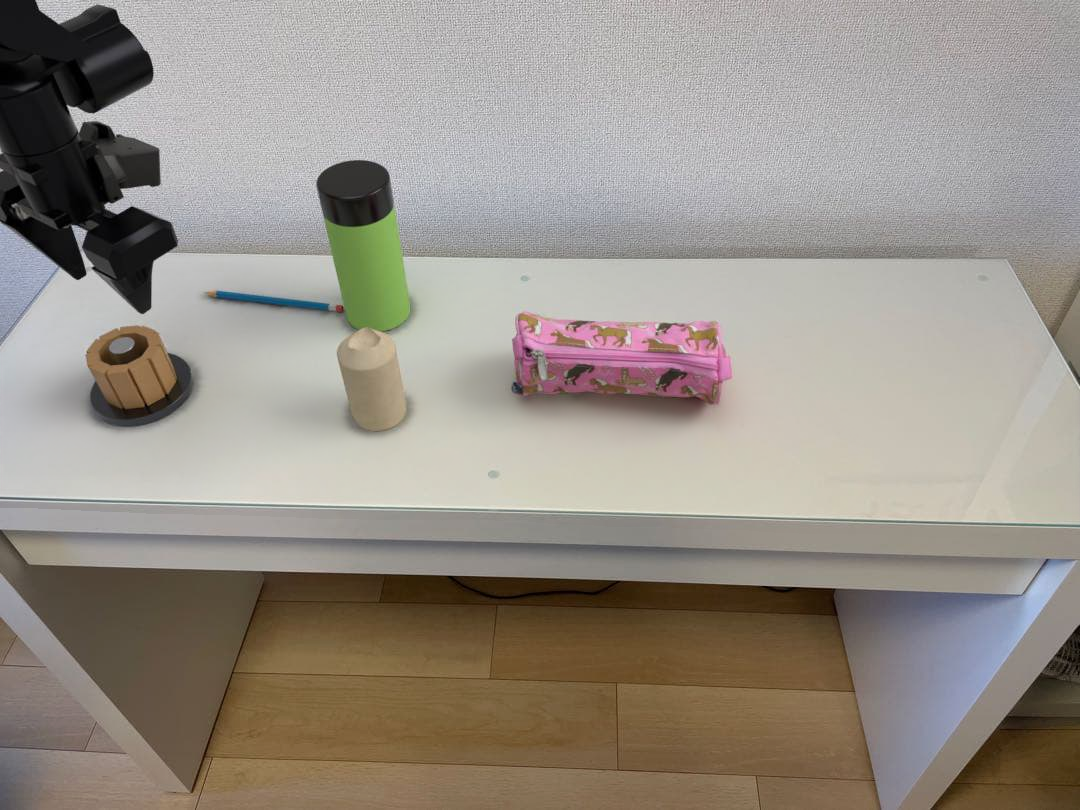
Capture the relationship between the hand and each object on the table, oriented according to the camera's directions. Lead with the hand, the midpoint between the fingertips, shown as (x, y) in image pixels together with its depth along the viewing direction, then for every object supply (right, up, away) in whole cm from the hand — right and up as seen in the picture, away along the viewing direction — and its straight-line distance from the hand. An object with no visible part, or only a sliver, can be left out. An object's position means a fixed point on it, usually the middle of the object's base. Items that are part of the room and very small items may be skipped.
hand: (112, 293), depth 79 cm
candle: (+23, -11, +8) cm, 27 cm away
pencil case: (+47, -9, +10) cm, 49 cm away
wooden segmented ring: (-2, -8, +10) cm, 13 cm away
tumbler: (+21, 0, +19) cm, 28 cm away
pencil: (+8, +1, +20) cm, 22 cm away
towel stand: (-2, -9, +10) cm, 14 cm away
